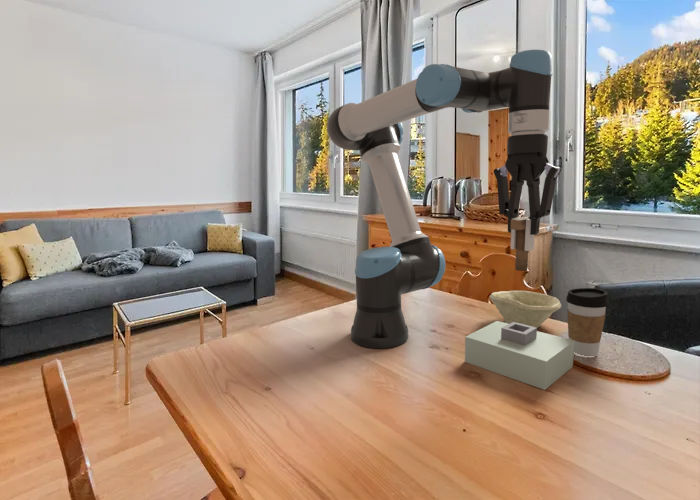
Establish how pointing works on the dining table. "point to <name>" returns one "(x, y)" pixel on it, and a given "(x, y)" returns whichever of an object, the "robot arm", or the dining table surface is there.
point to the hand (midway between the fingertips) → (522, 248)
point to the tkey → (520, 243)
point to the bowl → (525, 306)
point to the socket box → (520, 353)
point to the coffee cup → (586, 318)
